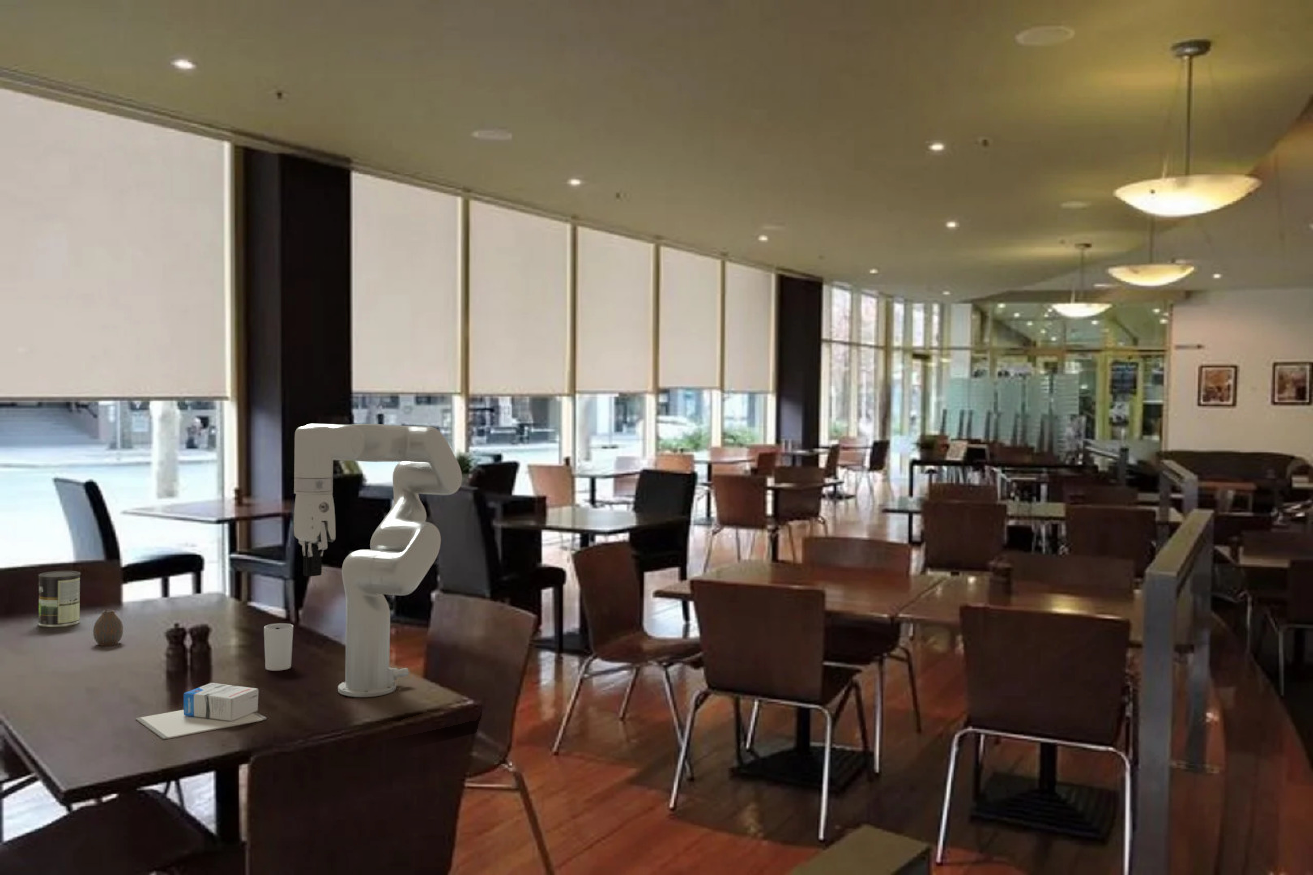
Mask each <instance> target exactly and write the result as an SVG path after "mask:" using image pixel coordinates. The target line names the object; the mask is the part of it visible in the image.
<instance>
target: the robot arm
mask: <svg viewBox="0 0 1313 875" xmlns="http://www.w3.org/2000/svg"><path fill="white" fill-rule="evenodd" d="M334 461H355V462H356V461H357V462H365V463H366V462H369V463H373V462H374V463H382V462H384V463H385V462H386V463H387V462H389V463H390V462H391V463H392V462H394V463H397V464H396V465H395V467H394V470H393V473H392V488H393V489H392V490H393V505H392V506H391V508H390V510H389V512H388V513H387V514H386V515H385V517H384V518H383V520H382V521H381V522H380V524H379V525H378V526H377V527H376V529H375V531H374V532H373V533H372V536H371V539H370V544H369V546H370V549H358V550H355V551H352V552H350V553H349V554H348V555H347V556H346V557H345V559H344V560H343V563H342V565H341V566H342V567H341V576H342V583H343V587H344V588H343V589H344V594H345V607H346V608H345V612H346V613H345V617H346V618H345V667H344V668H345V673H344V674H345V678H344V679H345V681H343V682H341V683H339V684H338V686H337V692H338V693H339V694H341V695H343V696H347V697H350V698H351V697H353V698H373V697H378V696H379V697H380V696H384V695H388V694H391V693H392V692H394V691H395V690H397V683H396V682H395V681H396V680H397V679H398V678H405V677H408V676H409V674H410V671H409V668H407V667H404V668H399V669H398V668H397V667H390V647H391V646H390V645H391V644H390V643H391V642H390V639H391V638H390V637H391V633H390V632H391V628H390V627H391V609H390V606H389V603H388V601H387V599H386V597H385V595H389V596H390V595H391V596H407V595H410V594H412V593H413V592H414V591H415V590H416V589H417V588H418V586H419V585H420V584H421V582H422V581H423V580H424V578H425V576H426V575H427V574H428V572H429V570H430V568H431V567H432V566H433V564H434V563H435V561H436V559H437V558H438V555H439V552H440V549H441V543H442V542H441V541H442V538H441V533H440V530H439V529H438V528H437V526H436V525H435V524H433V523H431V522H428V521H426V520H427V512H426V508H425V506H424V505H423V503H422V501H421V499H420V496H419V495H420V494H421V495H437V496H438V495H439V496H451V495H453V494H455V493H456V492H458V490H459V489H460V487H461V486H462V481H463V475H462V474H463V472H462V470H461V466H460V464H459V461H458V459H457V458H456V456H455V453H454V451H453V449H452V448H451V446H450V444H449V443H448V441H447V439H446V438H445V436H444V435H443V434H442V432H441V431H440V430H439V429H437V428H436V427H433V426H422V425H421V426H420V425H400V424H398V425H397V424H395V425H394V424H378V423H359V424H357V423H356V424H336V423H308V424H306V425H303V426H298V427H297V428H296V430H295V432H294V464H293V465H294V468H293V469H294V473H293V474H294V476H293V477H294V479H293V481H294V485H293V486H294V487H293V495H294V494H295V501H294V512H293V535H294V537H295V538H296V539H298V544H299V545H300V546H302V549H301V550H302V555H303V573H302V574H303V576H305V577H318V576H322V575H323V574H322V572H323V571H322V570H323V569H322V568H323V563H322V562H323V561H322V560H323V556H324V551H325V550H327V549H328V543H329V542H330V543H333V542H334V541H335V540H336V514H335V503H334V497H333V496H334V495H333V494H334V493H333V492H334V491H333V489H334V488H333V487H334V486H333V485H334V482H333V481H334V477H333V476H334Z"/></svg>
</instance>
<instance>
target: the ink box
mask: <svg viewBox="0 0 1313 875" xmlns="http://www.w3.org/2000/svg"><path fill="white" fill-rule="evenodd" d="M258 704H259V688H255V687H247V686H242V685H241V686H239V685H232V684H223V683H217V682H209V683H207V684H205V685H201V686H199V687H197V688H194V689H191V690H189V691H185V692H184V693H183V710H184V715H186V716H195V717H203V718H211V719H219V720H227V721H233V720H236V719H238V718H241V717H243V716H246V715H248V714H251V713H253V712H258V709H259V705H258Z"/></svg>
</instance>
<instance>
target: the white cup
mask: <svg viewBox="0 0 1313 875" xmlns="http://www.w3.org/2000/svg"><path fill="white" fill-rule="evenodd" d="M293 635H294V625H293V624H291V623H270V624H267V625H264V627H263V637H264V659H265V662H264V664H265V665H264V666H265V670H267V671H283V670H288V669H291V667H292V655H293V654H292V653H293V638H294V637H293Z"/></svg>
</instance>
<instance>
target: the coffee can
mask: <svg viewBox="0 0 1313 875" xmlns="http://www.w3.org/2000/svg"><path fill="white" fill-rule="evenodd" d="M80 580H81V572H80V571H77V570H76V571H75V570H56V571H55V570H53V571H45V572H41V573H39V574H38V626H39V627H43V628H61V627H69V626H75V625H78V624H80V622H81V620H80V617H81V616H80V615H81V614H80V605H81V604H80V596H81V594H80V592H81V581H80Z"/></svg>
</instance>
